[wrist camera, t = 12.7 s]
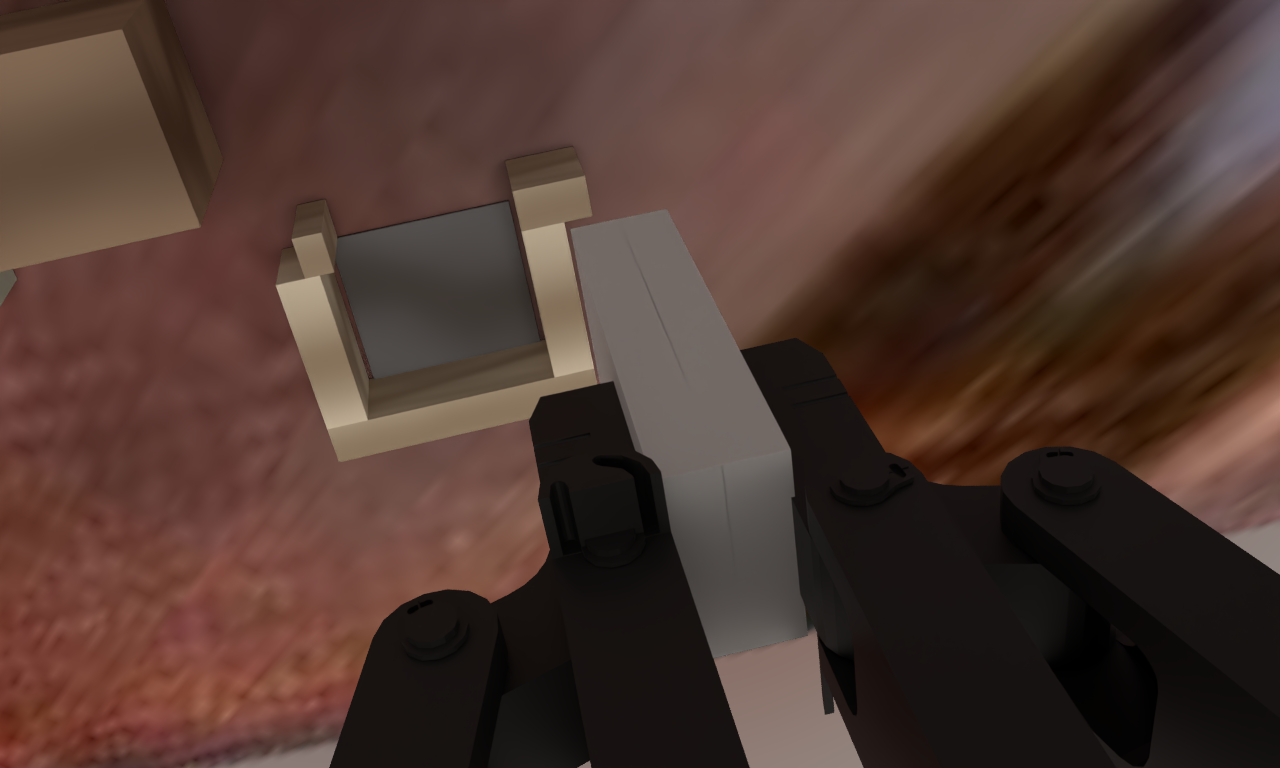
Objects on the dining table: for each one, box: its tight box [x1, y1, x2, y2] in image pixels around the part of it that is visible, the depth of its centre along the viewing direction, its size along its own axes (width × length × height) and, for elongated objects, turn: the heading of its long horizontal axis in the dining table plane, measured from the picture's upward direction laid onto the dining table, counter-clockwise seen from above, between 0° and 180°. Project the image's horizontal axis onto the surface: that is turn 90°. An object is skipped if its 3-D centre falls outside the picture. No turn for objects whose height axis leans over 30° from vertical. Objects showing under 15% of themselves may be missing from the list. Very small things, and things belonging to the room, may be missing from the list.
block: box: [0, 0, 223, 272], centre depth 36 cm, size 6×6×6 cm
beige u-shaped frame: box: [276, 146, 597, 462], centre depth 40 cm, size 22×11×3 cm, turn 9°
